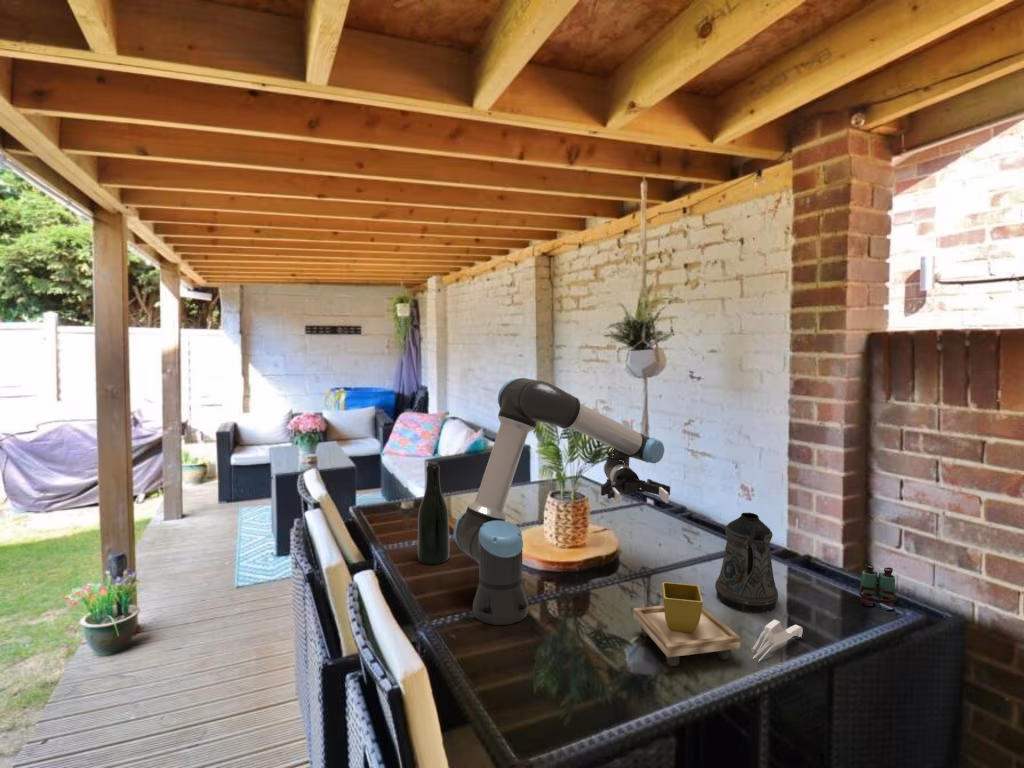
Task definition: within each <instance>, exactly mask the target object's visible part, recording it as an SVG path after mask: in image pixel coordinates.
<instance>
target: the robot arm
mask: <svg viewBox="0 0 1024 768" xmlns="http://www.w3.org/2000/svg"><path fill="white" fill-rule="evenodd" d="M497 404H498V405H499V411H498V415H497V418H498V421H499V423H500V424H499V429H498V431H497V434H496V436H495V441H494V444H493V447H492V448H491V449H492V450H491V451H490V452H491V453H490V456H489V458H488V462H487V465H486V467H485V469H484V473H483V476H482V479H481V483H480V486H479V489H478V491H477V494H476V497H475V500H474V501H473V502H471V503H469V504H468V505H467V508H466V511H465V512H464V513H463V514H462V515H459V517H458V518H457V519H456V521H455V523H454V526H453V538H454V541H455V544H456V545H457V547H459V549H460V551H462V552H463V553H465V555H467V556H468V557H470V558H471V559H472V560H474V561H475V562H476V563H477V564H478V570H479V571H478V575H479V576H478V578H479V581H478V586H477V589H476V593H475V595H474V598H473V602H472V614H473V616H474V618H475V619H477V620H478V621H480V622H482V623H484V624H489V625H494V626H495V625H496V626H500V625H501V626H503V625H504V626H505V625H513V624H515V622H516V623H518V622H521V621H523V620H524V619H525V618H526V617H527V616H528V615H527V614H529V601H528V598H527V595H526V591H525V589H524V584H523V548H524V542H523V541H524V540H523V534H522V531H521V529H520V528H519V527H518V526H517V525H516V524H515V523H512V522H509V521H508V522H506V518H507V517H506V514H505V513H504V508H505V505H506V502H507V499H508V496H509V493H510V489H511V487H512V485H513V479H514V477H515V474H516V471H517V468H518V464H519V462H520V459H521V455H522V452H523V450H524V446H525V443H526V440H527V437H528V435H529V433H530V432H532V431H533V430H535V429H536V426H537V424H538V422H539V423H544V424H549V425H554V426H556V427H558V428H561V429H564V430H566V429H572V430H574V431H575V432H578V433H581V434H582V435H584V436H587V437H589V438H591V439H593V440H595V441H598V442H600V443H602V444H604V445H606V446H607V445H609V446H611V447H613V448H614V450H613V454H614V455H613V456H609V457H607V456H606V457H607V458H608V459H606V461H605V462H604V465H603V472H604V474H605V476H606V478H607V479H606V481H605V483H604V484H602V485H601V486H600V496H602V497H603V496H607V499H609V500H610V499H613V500H614V502H616V504H620V503H621V493H622V494H626V495H630V494H632V493H635V492H637V493H649V494H654V495H657V496H658V498H660V499H661V500H662V502H664V503H665V504H669V501H670V500H669V499H670V495H671V486H669V485H667V484H665V483H660V482H657V481H654V480H652V479H650V478H647V479H646V481H645V480H643V479H640V477H639V476H638V473H636V472H635V471H634V470H633V469H632V468H631V467H630V460H631V459H630V458H632V459H636V460H638V461H642V462H645V463H650V464H657V463H659V462H661V460H662V459H663V457H664V455H665V446H664V443H663V442H662V441H661V440H659V439H657V438H655V437H650V436H647V435H645V434H642V433H641V432H638V431H636V430H635V429H632V428H631V427H630V426H629V425H627V424H622V423H620V422H619V421H617V420H614V419H613V418H610V417H608V416H606V415H604V414H602V413H600V412H598V411H596V410H594V409H592V408H590V407H588V406H586V405H584V404H583V403H581V401H580V399H579V398H578V397H577V396H574V395H572V394H570V393H568V392H566V391H565V390H563V389H561V388H559V387H558V386H556V385H554V384H552V383H550V382H548V381H544V380H538V379H531V378H525V377H519V378H517V377H516V378H513V379H509V380H507V381H506V382H505V383H504V384H503V385H502V386H501V388H500V390H499V391H498V394H497ZM612 457H613V458H612ZM619 460H622V461H624V463H625V465H624V463H623V462H622V461H619Z"/></svg>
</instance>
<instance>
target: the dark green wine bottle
mask: <svg viewBox="0 0 1024 768" xmlns="http://www.w3.org/2000/svg"><path fill="white" fill-rule="evenodd" d="M425 470H426V483H425V484H426V486H425V490H424V493H423V497H422V500H421V503H420V504H419V505H420V506H419V509H418V517H417V559H418V561H419V562H421V563H423V564H426V565H439V564H442V563H445V562H446V561H448V559H449V558H450V524H449V523H450V522H449V521H450V520H449V519H450V518H449V511H448V510H449V509H448V507H447V502H446V501H445V498H444V496H443V492H442V489H441V482H440V481H441V480H440V476H441V475H440V470H441V468H440V465H439V462H438V461H429V462H428V463H427V466H426V469H425Z"/></svg>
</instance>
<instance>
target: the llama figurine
mask: <svg viewBox="0 0 1024 768" xmlns="http://www.w3.org/2000/svg"><path fill="white" fill-rule="evenodd" d="M803 631H804V628H803V627H802V626H800V625H798V624H794V625H792V626H789V627H788V628H786V629H784V628H783V626H782V623H781V621H779V620H777V619H773V620H772V621H770V622H769V623H767V624H766V625H765V626H764V630H763V631H762V632H761V633H760V634H759V637H758V639H757V640H756V641H755V644H754V645H753V647H751V649H750V651H751V652H752V653H753V654H754V653H755V654H754V656H753V657H752V659H753V660H755V659H754V658H756V659H757V657H758V656H759V655H760V654H761V653H762V652H763V651H764V650H765V649H766V648H767V647H768V646H770V647H769V648H768V649H767V651H766V652H765V653H764V654H763V655H762V656H761V657H760V658H759V659H758V662H759V661H760V660H761V661H762V659H763V658H764V657H765V656H766V655H767V654H768V652H770V650H772V649H773V648H776V647H777V646H778V645H780V644H782V643H785V642H787V641H789V640H791V639H792V638H794V636H798V637H801V638H802V635H803ZM763 636H764V637H763ZM762 637H763V640H762V643H761V645H760V646H759V644H760V641H761V639H762ZM766 640H767V641H766ZM758 646H759V647H758ZM757 647H758V649H757V650H756V648H757Z"/></svg>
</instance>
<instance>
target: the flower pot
mask: <svg viewBox="0 0 1024 768" xmlns="http://www.w3.org/2000/svg"><path fill="white" fill-rule="evenodd" d="M661 586H662V600H663V605H664V611H665V619H666V622H667V625H668V627H669V629H670V630H671V631H679V632H688V633H692V632H693V631H694V630H695V629H696V628H697V626H698V624H699V621H700V616H701V610H702V605H703V602H704V600H703V597H702V593H701V588H700V586H699V585H697V584H687V583H676V582H668V581H667V582H666V581H665V582H662V583H661Z"/></svg>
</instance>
